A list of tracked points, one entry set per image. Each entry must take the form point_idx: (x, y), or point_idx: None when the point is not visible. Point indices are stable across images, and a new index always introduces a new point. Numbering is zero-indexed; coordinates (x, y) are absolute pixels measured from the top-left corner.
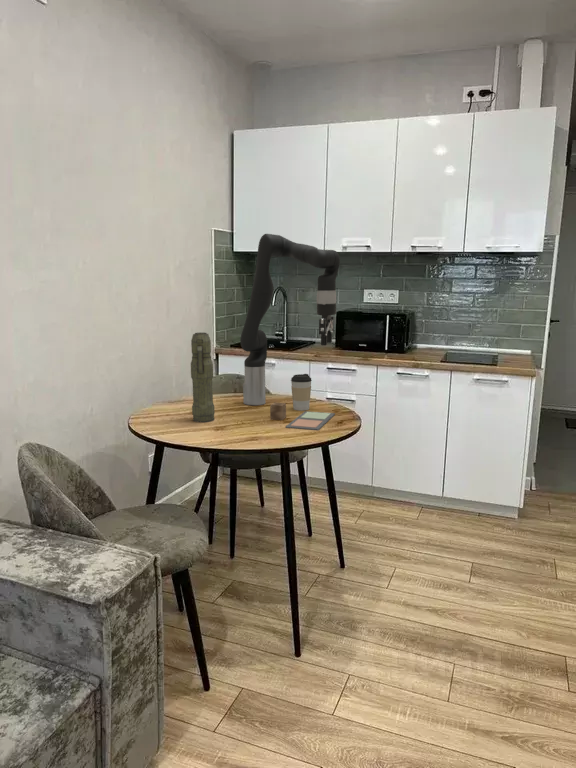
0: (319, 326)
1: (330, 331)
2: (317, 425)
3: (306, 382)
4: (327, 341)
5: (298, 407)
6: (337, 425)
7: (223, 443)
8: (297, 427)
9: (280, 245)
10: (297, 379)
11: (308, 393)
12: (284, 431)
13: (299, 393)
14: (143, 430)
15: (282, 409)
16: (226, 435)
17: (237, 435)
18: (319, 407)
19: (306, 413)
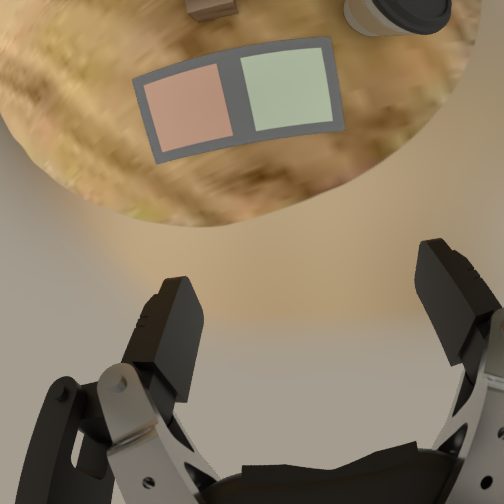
0: (27, 464)
1: (471, 379)
2: (179, 147)
3: (389, 18)
4: (425, 258)
5: (345, 9)
6: (227, 182)
7: (3, 76)
8: (140, 110)
9: None
10: None
11: (381, 31)
12: (106, 99)
13: (356, 3)
14: None
15: (196, 14)
16: (33, 34)
17: (40, 48)
18: (407, 61)
19: (297, 52)
